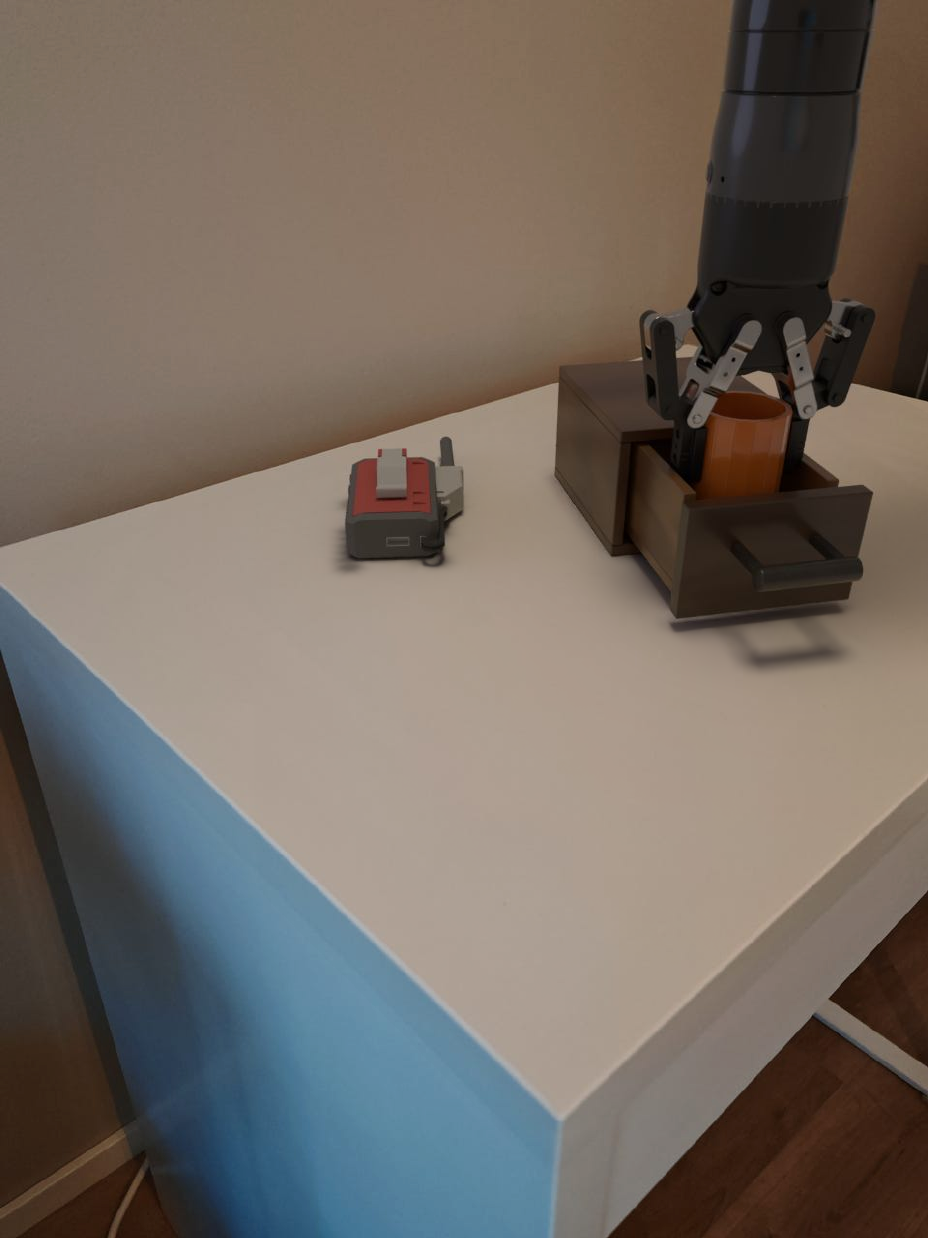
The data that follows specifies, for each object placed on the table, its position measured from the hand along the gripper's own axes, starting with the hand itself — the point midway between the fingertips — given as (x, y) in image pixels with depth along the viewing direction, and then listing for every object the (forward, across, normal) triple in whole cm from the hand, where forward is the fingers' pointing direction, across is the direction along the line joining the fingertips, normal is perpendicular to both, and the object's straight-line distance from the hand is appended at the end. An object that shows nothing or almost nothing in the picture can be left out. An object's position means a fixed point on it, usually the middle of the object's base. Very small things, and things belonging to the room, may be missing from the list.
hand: (734, 473), depth 61 cm
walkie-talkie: (+7, -19, +15) cm, 25 cm away
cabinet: (+7, 0, +11) cm, 13 cm away
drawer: (+6, 0, -2) cm, 7 cm away
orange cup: (+1, 0, 0) cm, 1 cm away
